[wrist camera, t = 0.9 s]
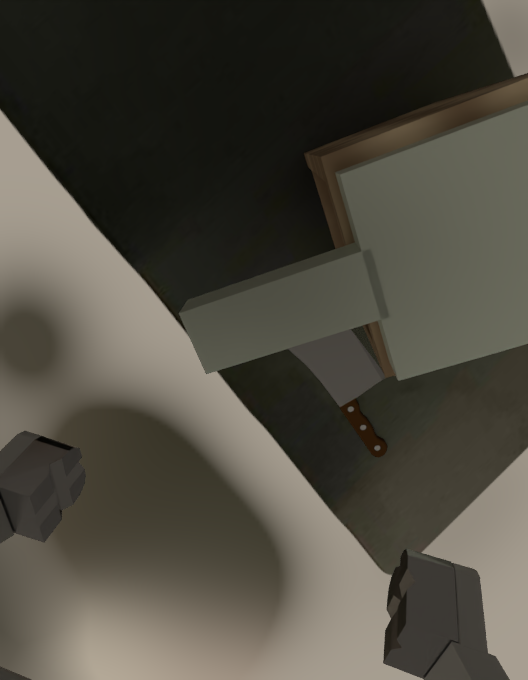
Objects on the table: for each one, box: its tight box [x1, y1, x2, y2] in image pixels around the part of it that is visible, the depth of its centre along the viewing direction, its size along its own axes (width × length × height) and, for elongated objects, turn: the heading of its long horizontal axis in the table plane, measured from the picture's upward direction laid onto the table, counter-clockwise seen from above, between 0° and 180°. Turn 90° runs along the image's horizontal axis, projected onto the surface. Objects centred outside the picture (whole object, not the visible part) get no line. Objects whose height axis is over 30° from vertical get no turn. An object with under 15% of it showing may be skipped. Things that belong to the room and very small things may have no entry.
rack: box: [304, 73, 528, 378], centre depth 37 cm, size 14×14×29 cm
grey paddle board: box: [179, 100, 528, 381], centre depth 26 cm, size 22×12×2 cm, turn 110°
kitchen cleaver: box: [288, 329, 387, 457], centre depth 59 cm, size 24×1×10 cm
